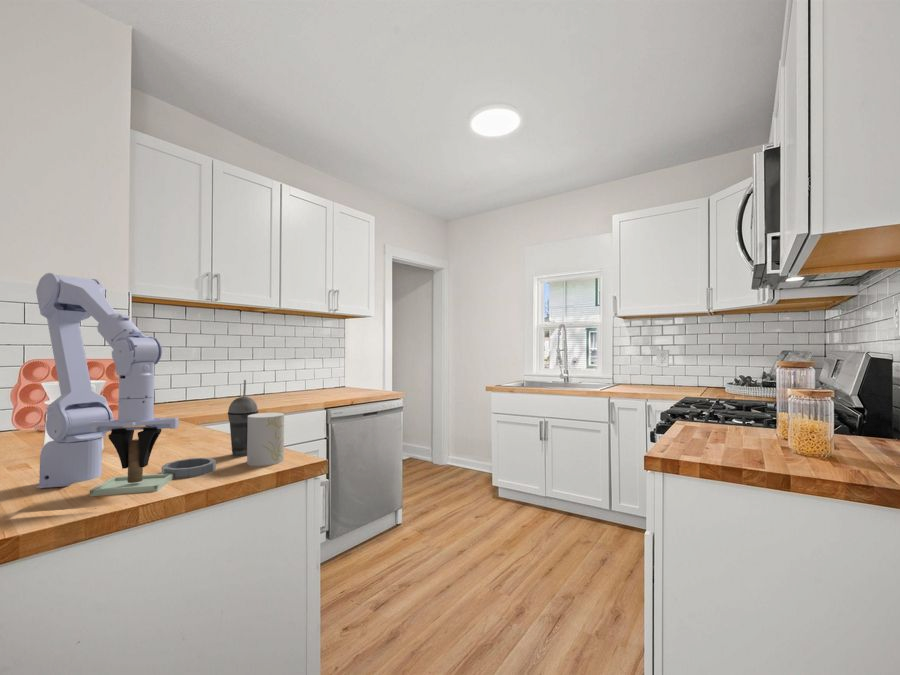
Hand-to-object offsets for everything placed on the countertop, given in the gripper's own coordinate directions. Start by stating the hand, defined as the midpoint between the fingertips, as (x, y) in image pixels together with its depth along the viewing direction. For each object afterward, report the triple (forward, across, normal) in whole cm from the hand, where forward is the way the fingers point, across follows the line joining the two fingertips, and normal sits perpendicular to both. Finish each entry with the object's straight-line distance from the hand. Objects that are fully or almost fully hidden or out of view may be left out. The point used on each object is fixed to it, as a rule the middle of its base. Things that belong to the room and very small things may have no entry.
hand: (135, 466), depth 86 cm
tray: (+5, 0, 0) cm, 5 cm away
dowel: (+3, 0, 0) cm, 3 cm away
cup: (+5, +22, +14) cm, 27 cm away
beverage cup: (+5, +15, +24) cm, 29 cm away
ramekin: (+5, +7, +9) cm, 12 cm away
